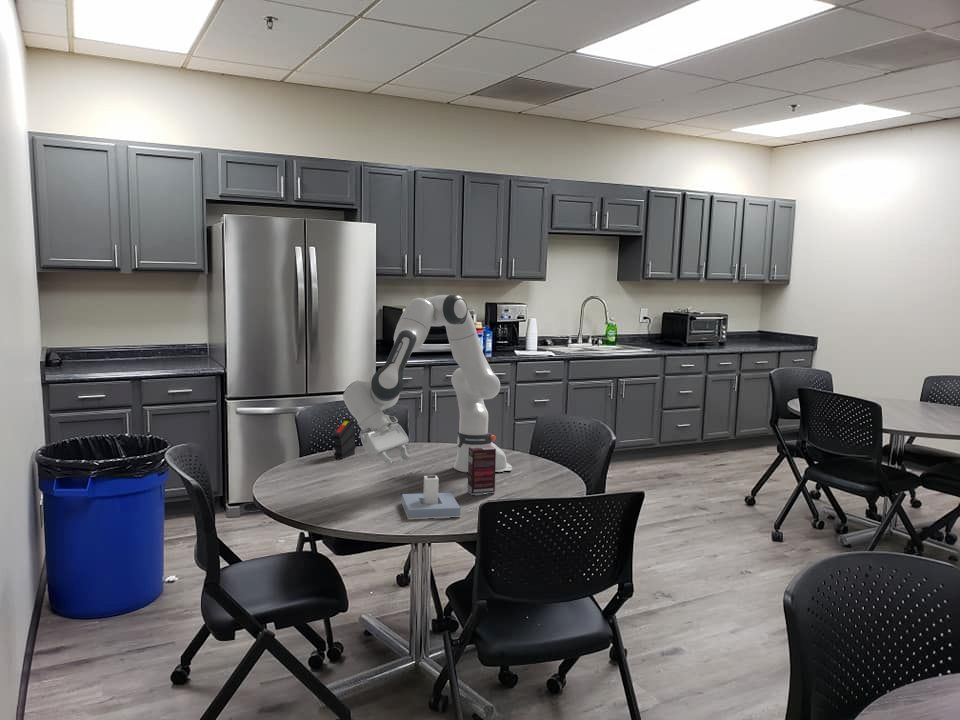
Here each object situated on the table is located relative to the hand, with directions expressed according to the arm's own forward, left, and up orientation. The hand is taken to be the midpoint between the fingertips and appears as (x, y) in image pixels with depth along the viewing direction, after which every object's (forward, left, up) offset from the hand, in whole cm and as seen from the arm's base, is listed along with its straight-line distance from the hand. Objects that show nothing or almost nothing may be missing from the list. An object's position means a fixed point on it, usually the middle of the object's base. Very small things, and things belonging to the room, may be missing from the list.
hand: (398, 461), depth 231 cm
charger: (-9, +9, -13) cm, 18 cm away
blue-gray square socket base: (-9, +9, -13) cm, 19 cm away
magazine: (+15, -61, -14) cm, 64 cm away
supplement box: (-29, -7, -14) cm, 33 cm away
